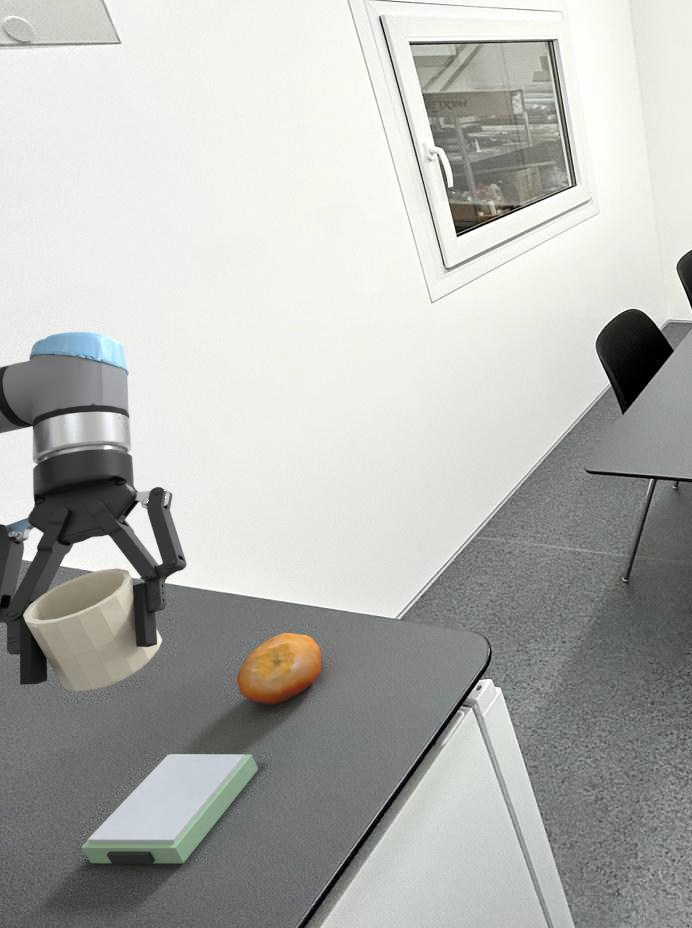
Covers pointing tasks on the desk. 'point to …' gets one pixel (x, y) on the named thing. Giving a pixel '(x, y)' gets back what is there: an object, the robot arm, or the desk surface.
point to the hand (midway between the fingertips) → (92, 663)
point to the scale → (171, 809)
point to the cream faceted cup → (90, 630)
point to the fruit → (280, 668)
